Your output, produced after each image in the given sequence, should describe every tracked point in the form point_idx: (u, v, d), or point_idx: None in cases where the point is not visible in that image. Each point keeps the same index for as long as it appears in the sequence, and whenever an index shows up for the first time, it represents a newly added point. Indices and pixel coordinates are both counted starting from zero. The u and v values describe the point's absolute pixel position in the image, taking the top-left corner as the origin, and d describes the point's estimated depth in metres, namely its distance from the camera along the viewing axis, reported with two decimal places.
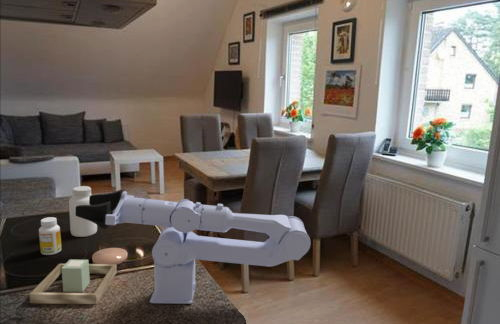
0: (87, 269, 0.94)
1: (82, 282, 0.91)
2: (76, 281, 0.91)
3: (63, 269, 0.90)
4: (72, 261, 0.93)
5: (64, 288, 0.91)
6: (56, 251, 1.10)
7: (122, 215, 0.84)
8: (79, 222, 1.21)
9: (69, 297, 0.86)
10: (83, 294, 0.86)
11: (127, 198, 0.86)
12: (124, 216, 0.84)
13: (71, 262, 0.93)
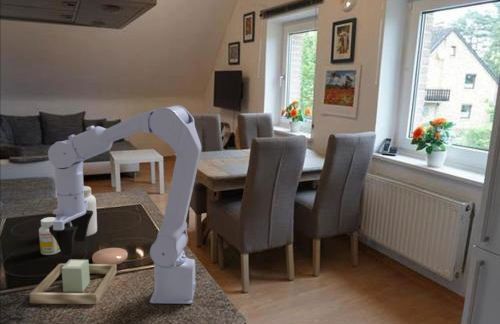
0: (87, 269, 0.94)
1: (82, 282, 0.91)
2: (76, 282, 0.91)
3: (63, 269, 0.90)
4: (72, 261, 0.93)
5: (64, 288, 0.91)
6: (56, 251, 1.10)
7: (68, 213, 0.87)
8: None
9: (69, 297, 0.86)
10: (83, 294, 0.86)
11: None
12: (69, 212, 0.87)
13: (70, 262, 0.93)
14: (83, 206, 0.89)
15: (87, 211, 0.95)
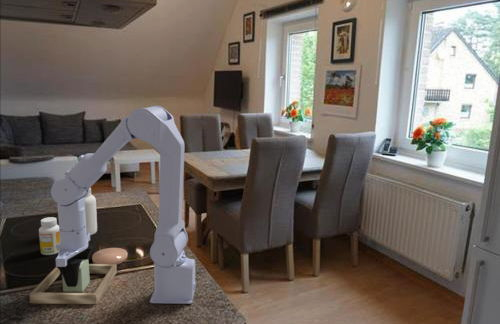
0: (87, 269, 0.94)
1: (82, 282, 0.91)
2: None
3: None
4: None
5: (64, 288, 0.91)
6: (56, 251, 1.10)
7: (70, 248, 0.89)
8: None
9: (69, 297, 0.86)
10: (83, 294, 0.86)
11: None
12: (71, 247, 0.89)
13: None
14: (85, 240, 0.91)
15: None
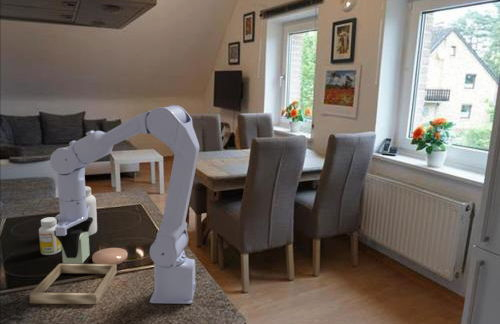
0: (87, 241, 0.93)
1: (82, 253, 0.90)
2: None
3: None
4: None
5: (64, 259, 0.90)
6: (56, 251, 1.10)
7: (70, 219, 0.88)
8: None
9: (69, 297, 0.86)
10: (83, 294, 0.86)
11: None
12: (71, 217, 0.88)
13: None
14: (85, 211, 0.90)
15: None
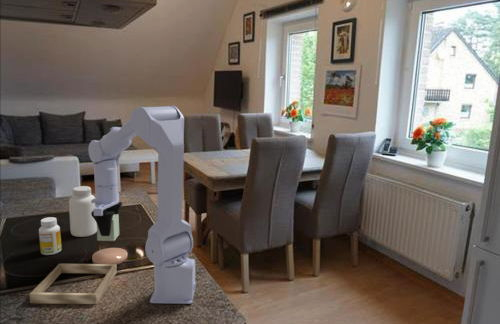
0: (117, 222, 1.08)
1: (114, 232, 1.05)
2: None
3: None
4: None
5: (98, 237, 1.05)
6: (56, 251, 1.10)
7: (104, 202, 1.02)
8: (79, 222, 1.21)
9: (69, 297, 0.86)
10: (83, 294, 0.86)
11: None
12: (106, 200, 1.02)
13: None
14: (117, 196, 1.04)
15: (118, 201, 1.10)
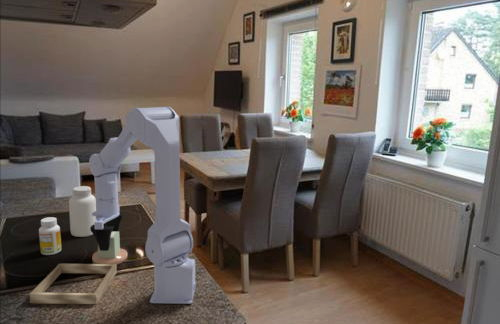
0: (118, 240, 1.09)
1: (115, 250, 1.06)
2: (110, 249, 1.05)
3: None
4: None
5: (99, 255, 1.06)
6: (56, 251, 1.10)
7: (105, 215, 1.03)
8: (79, 222, 1.21)
9: (69, 297, 0.86)
10: (83, 294, 0.86)
11: None
12: (106, 214, 1.03)
13: None
14: (117, 209, 1.05)
15: (119, 213, 1.11)
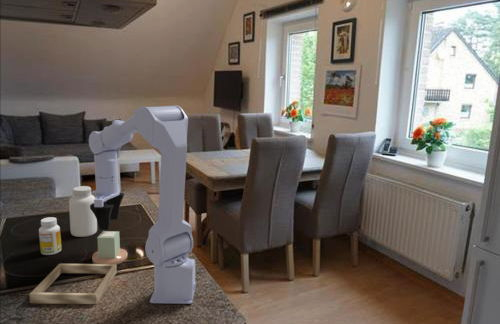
0: (118, 240, 1.09)
1: (115, 250, 1.06)
2: (110, 249, 1.05)
3: (99, 238, 1.05)
4: (105, 232, 1.08)
5: (99, 255, 1.06)
6: (56, 251, 1.10)
7: (105, 193, 1.01)
8: (79, 222, 1.21)
9: (69, 297, 0.86)
10: (83, 294, 0.86)
11: None
12: (106, 192, 1.01)
13: (104, 233, 1.08)
14: (117, 188, 1.04)
15: (119, 193, 1.10)
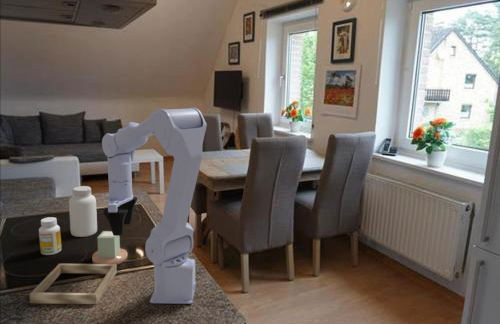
0: (118, 240, 1.09)
1: (115, 250, 1.06)
2: (110, 249, 1.05)
3: (99, 238, 1.05)
4: (105, 232, 1.08)
5: (99, 255, 1.06)
6: (56, 251, 1.10)
7: (119, 198, 0.98)
8: (79, 222, 1.21)
9: (69, 297, 0.86)
10: (83, 294, 0.86)
11: (109, 194, 1.00)
12: (120, 196, 0.98)
13: (104, 233, 1.08)
14: (131, 192, 1.00)
15: None
